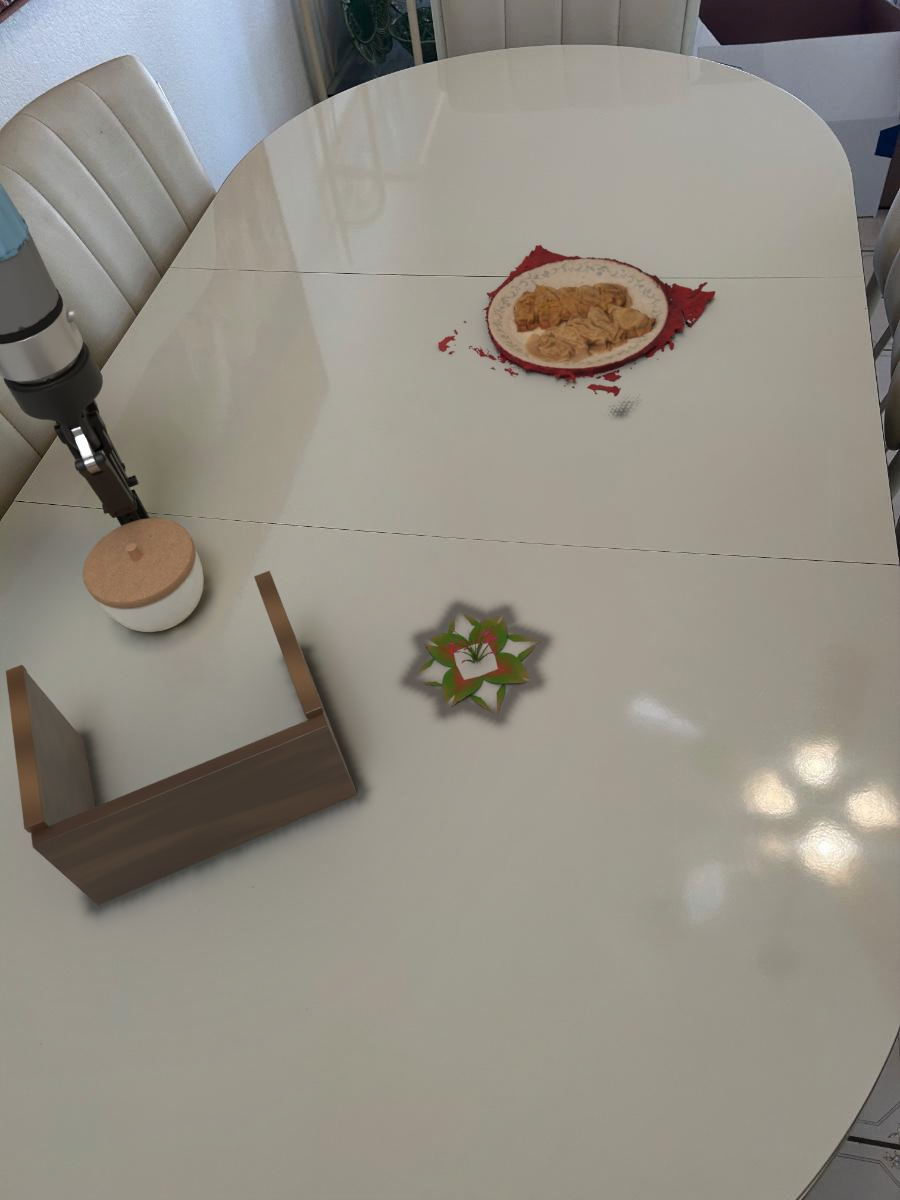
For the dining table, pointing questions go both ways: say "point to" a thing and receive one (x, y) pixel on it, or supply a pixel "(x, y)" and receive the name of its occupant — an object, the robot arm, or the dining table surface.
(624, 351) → the plate with food
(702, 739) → the dining table surface
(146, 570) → the trinket box
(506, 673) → the lily flower
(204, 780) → the shelf cubby
